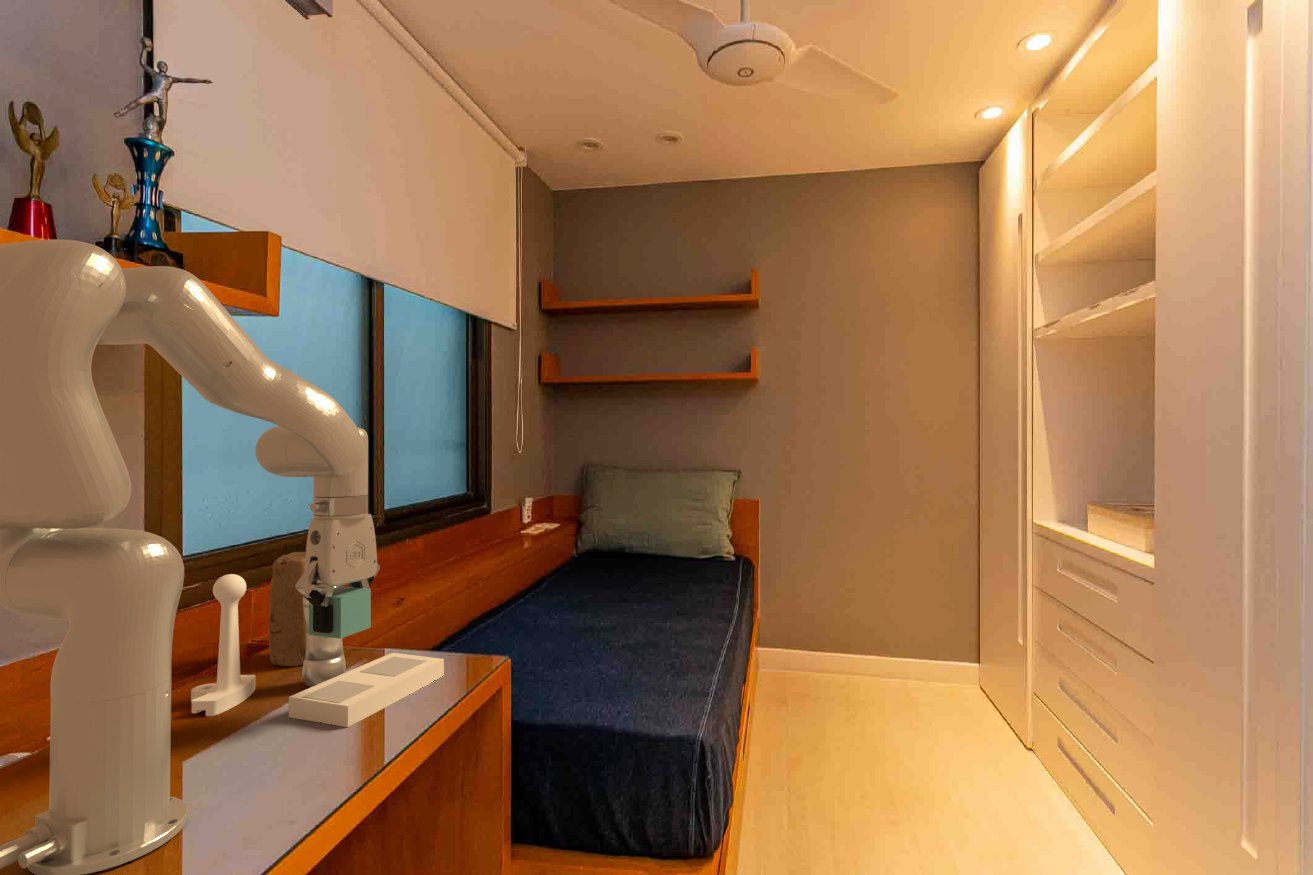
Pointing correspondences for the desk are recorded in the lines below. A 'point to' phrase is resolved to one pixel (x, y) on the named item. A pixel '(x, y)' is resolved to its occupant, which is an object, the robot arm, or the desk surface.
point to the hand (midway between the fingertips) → (340, 624)
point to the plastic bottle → (321, 655)
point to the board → (365, 689)
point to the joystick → (226, 655)
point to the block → (287, 612)
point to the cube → (347, 612)
